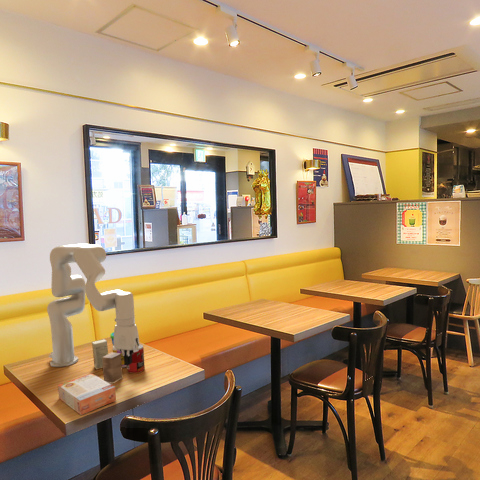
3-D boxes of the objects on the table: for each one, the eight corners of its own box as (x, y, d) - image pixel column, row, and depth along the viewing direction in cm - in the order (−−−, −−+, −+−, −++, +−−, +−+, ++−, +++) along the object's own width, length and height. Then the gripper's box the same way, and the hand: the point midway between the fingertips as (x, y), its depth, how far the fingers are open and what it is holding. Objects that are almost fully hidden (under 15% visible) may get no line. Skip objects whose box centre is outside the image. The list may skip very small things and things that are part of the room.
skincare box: (107, 363, 193) (105, 338, 192) (109, 366, 189) (107, 340, 188) (93, 366, 189) (91, 341, 188) (95, 369, 186) (93, 343, 185)
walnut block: (104, 382, 171) (102, 357, 171) (113, 376, 177) (111, 352, 176) (113, 383, 169) (111, 358, 169) (122, 377, 175) (120, 353, 174)
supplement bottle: (116, 370, 184) (114, 342, 183) (111, 365, 189) (109, 339, 188) (130, 366, 188) (128, 339, 187) (125, 362, 193) (123, 336, 192)
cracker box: (58, 399, 158) (80, 416, 143) (57, 384, 157) (79, 399, 142) (93, 386, 167) (117, 401, 152) (91, 372, 167) (115, 386, 152)
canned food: (140, 373, 179) (138, 349, 178) (123, 373, 180) (122, 349, 179) (147, 367, 186) (146, 344, 185) (131, 366, 188) (130, 343, 187)
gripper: (105, 323, 167) (108, 365, 169) (134, 325, 162) (137, 369, 163) (117, 318, 174) (119, 359, 176) (145, 320, 169) (148, 362, 170)
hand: (128, 364), depth 169 cm, fingers closed
